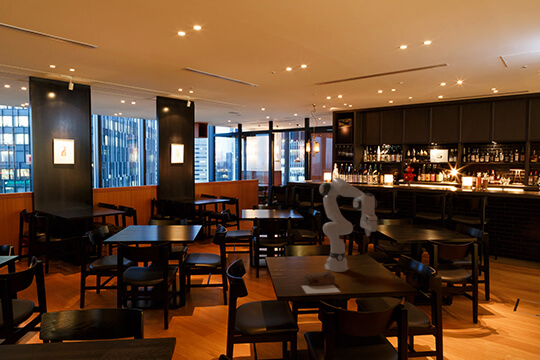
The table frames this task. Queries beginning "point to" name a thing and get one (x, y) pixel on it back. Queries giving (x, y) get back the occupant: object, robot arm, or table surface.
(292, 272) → the table surface
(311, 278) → the block
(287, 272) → the table surface
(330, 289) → the mat
